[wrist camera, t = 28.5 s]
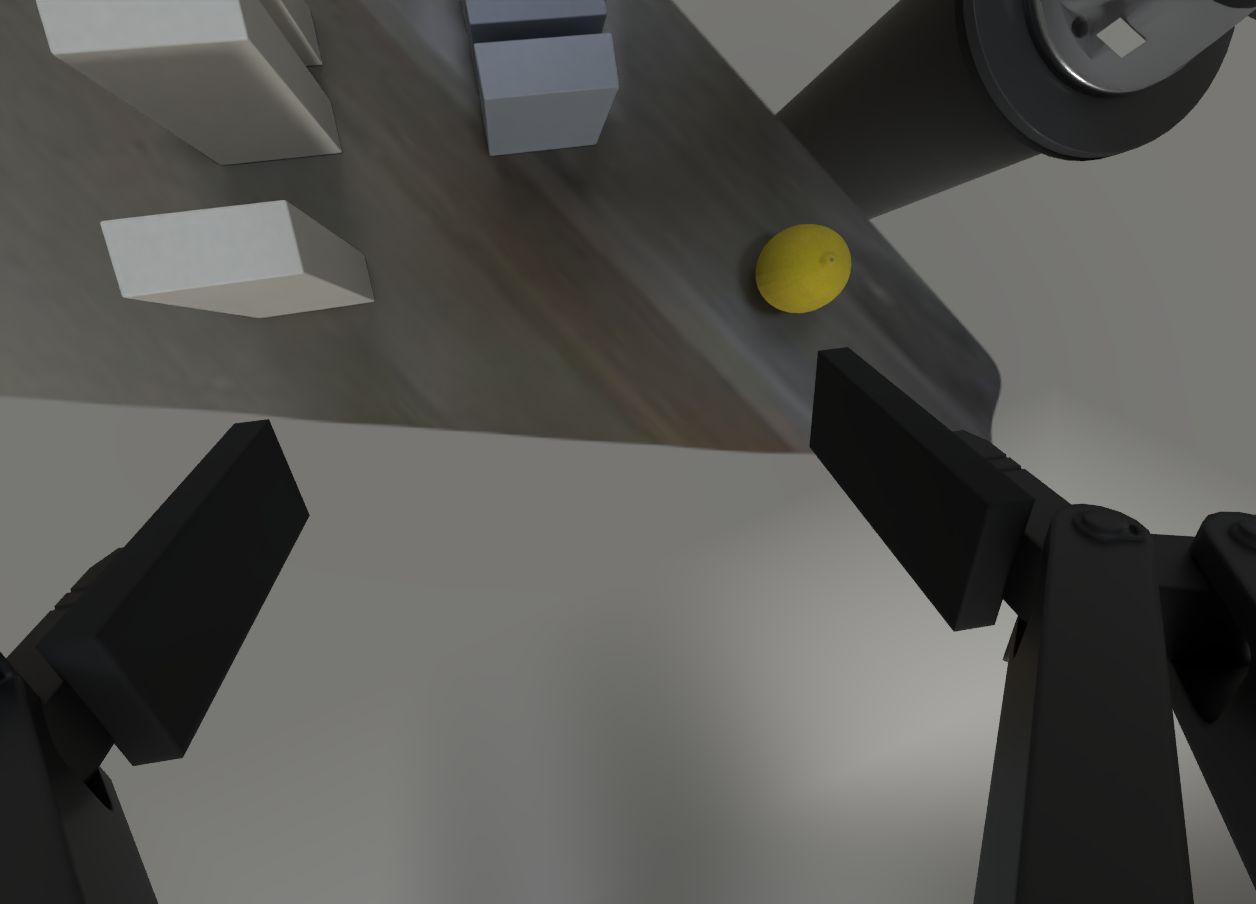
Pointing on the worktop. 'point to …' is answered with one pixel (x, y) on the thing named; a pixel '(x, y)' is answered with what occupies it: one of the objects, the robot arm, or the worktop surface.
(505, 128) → the grey books
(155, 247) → the cream tall block
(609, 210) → the worktop surface
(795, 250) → the lemon
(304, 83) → the cream book row
